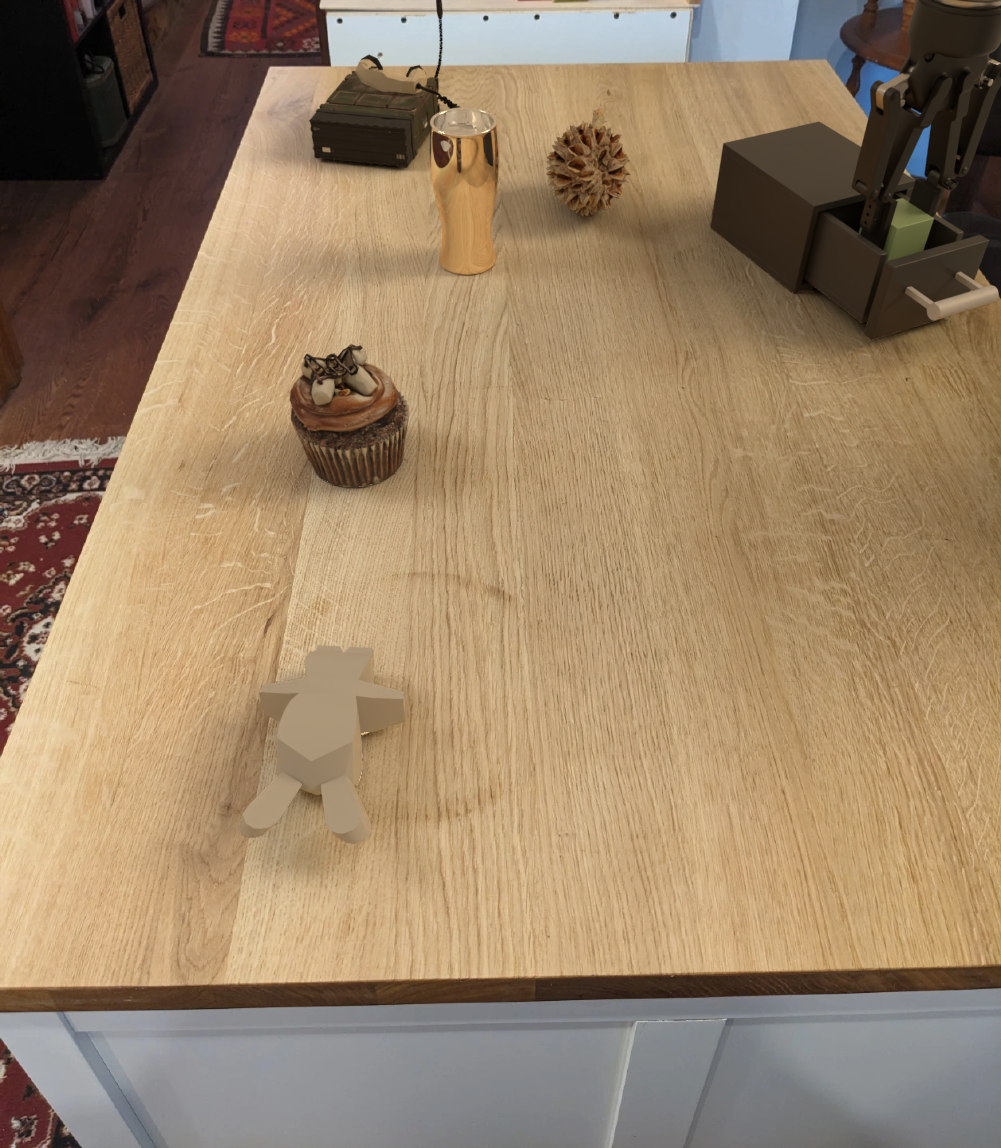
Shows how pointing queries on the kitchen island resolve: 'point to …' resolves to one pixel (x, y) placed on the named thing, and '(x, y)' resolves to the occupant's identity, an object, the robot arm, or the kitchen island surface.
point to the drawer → (895, 273)
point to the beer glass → (465, 186)
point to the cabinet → (784, 194)
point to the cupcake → (349, 418)
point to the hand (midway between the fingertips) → (888, 253)
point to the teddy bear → (324, 739)
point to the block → (907, 231)
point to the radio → (378, 113)
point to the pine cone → (588, 166)
